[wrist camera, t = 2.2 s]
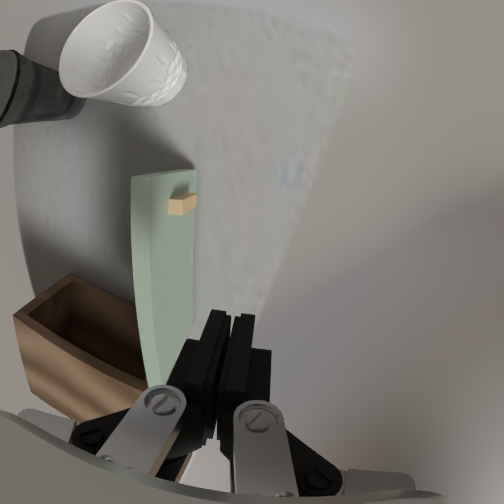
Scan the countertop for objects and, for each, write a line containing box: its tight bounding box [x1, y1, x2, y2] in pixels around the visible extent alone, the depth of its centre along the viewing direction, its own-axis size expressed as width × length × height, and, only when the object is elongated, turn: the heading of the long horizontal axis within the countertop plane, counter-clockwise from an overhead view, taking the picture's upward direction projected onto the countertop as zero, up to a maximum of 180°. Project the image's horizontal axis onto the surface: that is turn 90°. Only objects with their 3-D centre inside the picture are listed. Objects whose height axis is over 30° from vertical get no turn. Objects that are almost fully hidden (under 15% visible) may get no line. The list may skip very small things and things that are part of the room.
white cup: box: [59, 0, 187, 108], centre depth 17 cm, size 8×8×10 cm
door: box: [131, 169, 198, 388], centre depth 22 cm, size 2×16×10 cm, turn 175°
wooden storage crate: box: [13, 273, 174, 424], centre depth 26 cm, size 13×16×11 cm
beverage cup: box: [0, 50, 86, 128], centre depth 13 cm, size 7×7×20 cm
